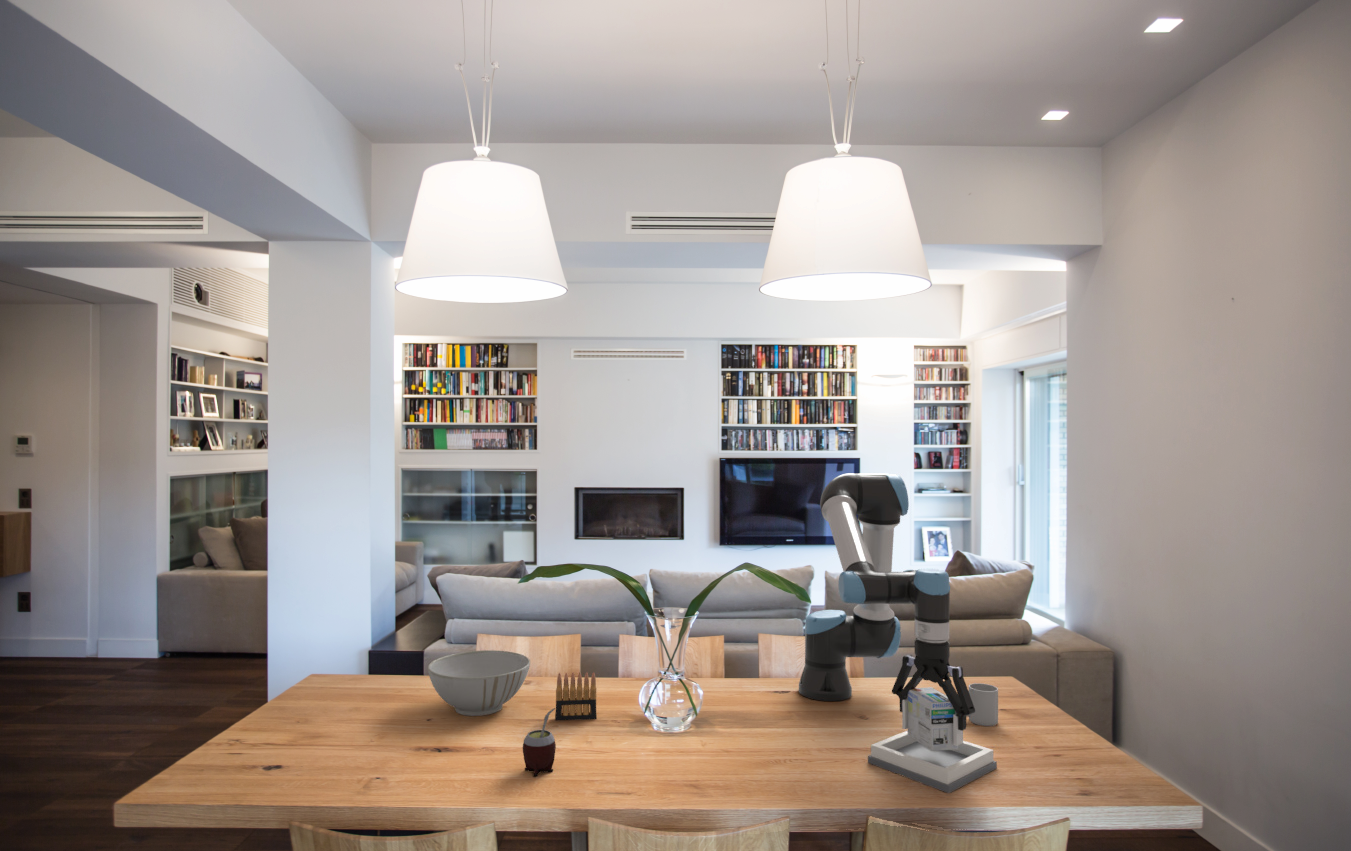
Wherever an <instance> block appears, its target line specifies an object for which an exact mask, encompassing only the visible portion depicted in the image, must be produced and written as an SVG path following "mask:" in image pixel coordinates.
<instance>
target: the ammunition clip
mask: <svg viewBox="0 0 1351 851" xmlns="http://www.w3.org/2000/svg"><path fill="white" fill-rule="evenodd" d="M582 678H583V677H582V673H581V671H580V672H578V675H577V679H576V676H575V673H574V672H572V673H571V676H570V684H569V676H568V672H565V674H564V678H563V681H562V674H561V673H560V672H559V673H558V675H557V679H556V688H555V714H554V717H555V718H554V721H556V722H558V721H560V722H561V721H584V720H585V721H586V720H589V721H590V720H597V718H598V716H597V715H598V714H597V683H596V680H597V679H596V674H595V671H593V672H592V674H591V679H589V674H588V671H586V672H585V673H584V679H582ZM576 680H577V682H576ZM589 680H590V681H589ZM576 683H577V684H576ZM569 685H570V686H569Z"/></svg>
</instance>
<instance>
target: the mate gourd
mask: <svg viewBox="0 0 1351 851" xmlns="http://www.w3.org/2000/svg"><path fill="white" fill-rule="evenodd" d="M555 711H556V707H554V708H552V709H551V710H549V711H548V712H547V713H546V714H545V715H544V719H543V724H542V727H541V729H536V730H532V731H530V732H528V733H527V734H526V736H525V737H524V739H523V742H522V743H523V744H522V754H523V761H524V764H525V765H524V766H525V767H524V772H534V773H533V775H532V777H533V778H537V777H538V776H539V774H540V773H553V771H554V769H553V766H554V762H555V757H556V756H555V755H556V749H557V746H556V739H555V737H554V734H552V732H551V731H550V730H546V726H547V721H548V720H549V717H550V715H551V713H552V712H555Z"/></svg>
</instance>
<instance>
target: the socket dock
mask: <svg viewBox="0 0 1351 851" xmlns="http://www.w3.org/2000/svg"><path fill="white" fill-rule="evenodd" d="M867 763H868V764H871V765H873V766H876V767H879V768H881V769H884V770H886V771H889V772H891V773H894V774H896V773H897V775H899V774H900V775H899V776H902V775H903V776H902V777H904V776H905V777H904V778H907V777H908V778H907V779H910V780H913V781H915V782H918V783H921V784H922V785H926V786H928V787H931V788H934V789H937V790H940V791H942V792H945V793H947V794H951V793H952V792H954V791H956V790H958V789H959V788H961V787H963V786H965V785H967V784H969V783H971V782H973V781H975V780H977V779H979V778H981V777H982V776H985V775H987V774H988V773H990V772H992V771H994V770H996V769H998V768H997V767H998V764H997V761H996V760H994V749H992V748H988V747H985V746H982V745H979V744H976V743H972V742H970V741H966V740H963V743H962V744H960V745H958V749H956V750H943V751H930V750H929V749H927V748H926V747H925V746H923V745H922V744H920V743H919V742H918V741H916V740H915V739H913V738H912V737H911V736H909V735H908V729H906V730H905V731H903V732H900V733H898V734H895V735H893V736H890V737H888V738H885V739H883V740H880V741H877V742H875V743H872V744H871V745H870V754H869V755H867Z"/></svg>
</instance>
